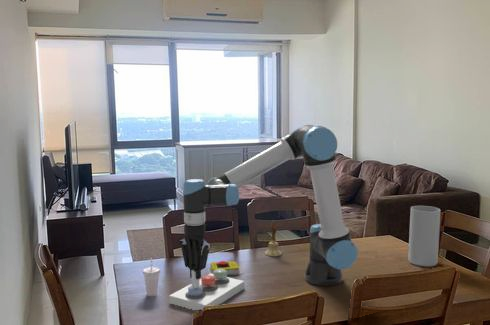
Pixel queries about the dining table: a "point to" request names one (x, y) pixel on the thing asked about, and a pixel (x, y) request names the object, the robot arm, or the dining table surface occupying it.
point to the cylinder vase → (424, 235)
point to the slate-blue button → (195, 291)
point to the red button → (208, 280)
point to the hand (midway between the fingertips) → (195, 286)
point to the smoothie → (151, 279)
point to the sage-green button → (220, 273)
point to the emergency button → (226, 267)
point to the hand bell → (273, 243)
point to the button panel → (207, 294)
